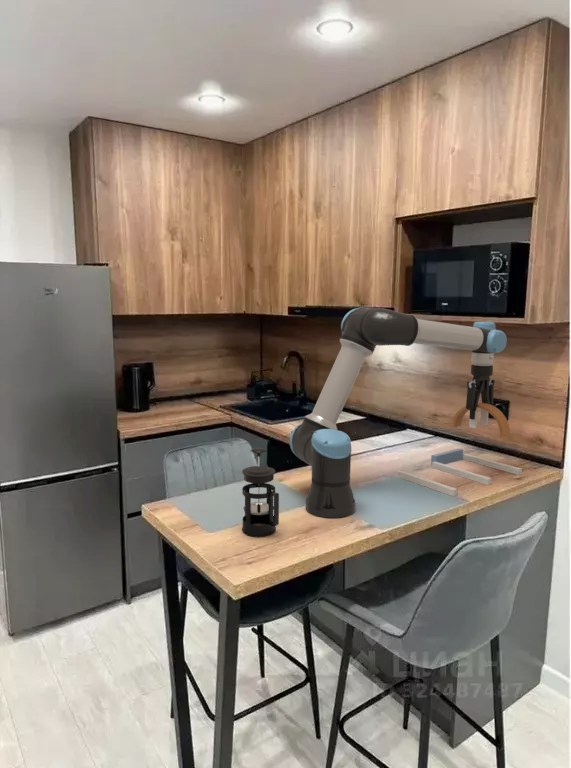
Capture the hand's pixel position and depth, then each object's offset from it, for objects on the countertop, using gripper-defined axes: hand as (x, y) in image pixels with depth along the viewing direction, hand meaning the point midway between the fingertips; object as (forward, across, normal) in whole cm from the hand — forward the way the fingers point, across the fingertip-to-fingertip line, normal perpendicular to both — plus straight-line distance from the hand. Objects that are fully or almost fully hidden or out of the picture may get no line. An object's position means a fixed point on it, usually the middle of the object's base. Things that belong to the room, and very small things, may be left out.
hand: (478, 426), depth 196 cm
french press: (+17, -95, +2) cm, 96 cm away
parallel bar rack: (+17, -9, 0) cm, 19 cm away
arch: (+2, 0, -1) cm, 2 cm away
